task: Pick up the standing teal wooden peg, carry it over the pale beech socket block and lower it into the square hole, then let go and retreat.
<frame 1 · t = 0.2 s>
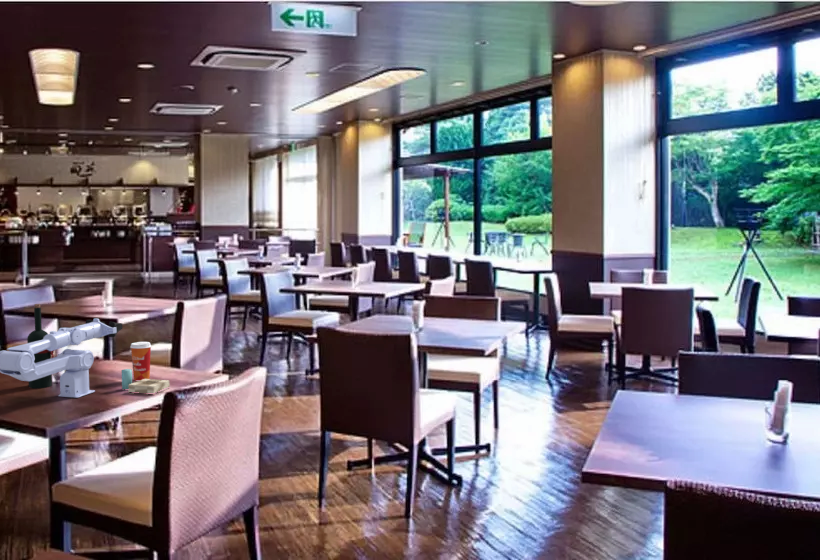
hand: (112, 325, 292), 21 cm above the table, tool horizontal, fingers open, 7 cm apart
socket block: (149, 390, 280), on the table
wine bottle: (43, 386, 287), on the table
peg: (127, 389, 283), on the table
paper cup: (141, 380, 298), on the table
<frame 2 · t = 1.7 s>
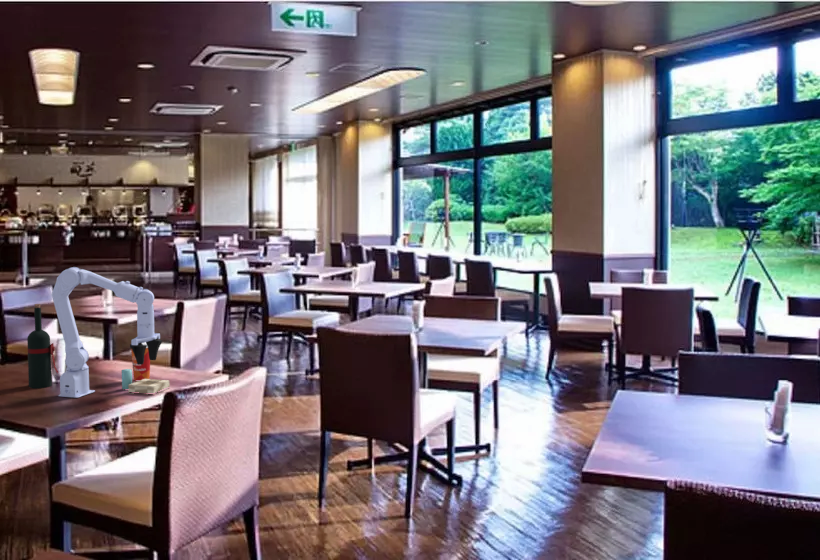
hand: (146, 362, 280), 10 cm above the table, tool pointing down, fingers open, 7 cm apart
nothing on the table moved.
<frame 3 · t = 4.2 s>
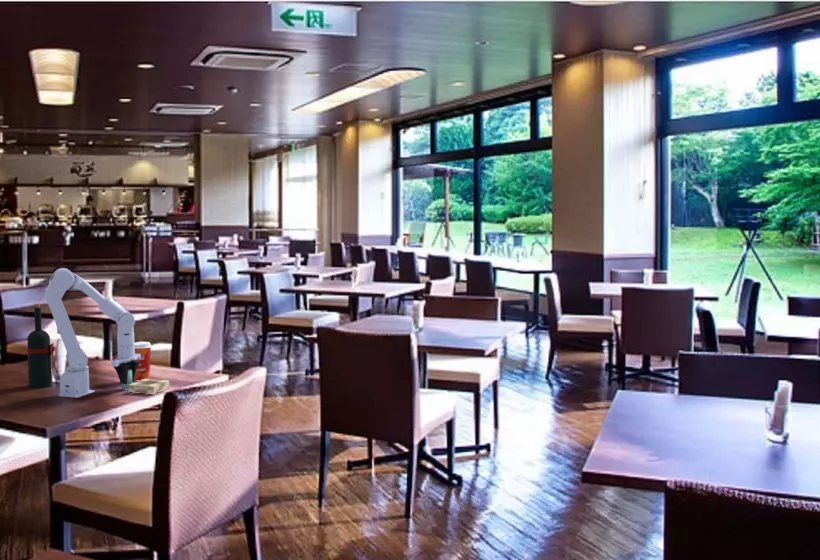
hand: (127, 382, 282), 2 cm above the table, tool pointing down, fingers closed on peg, 3 cm apart
peg: (127, 389, 283), on the table, touching gripper
everything else where it was.
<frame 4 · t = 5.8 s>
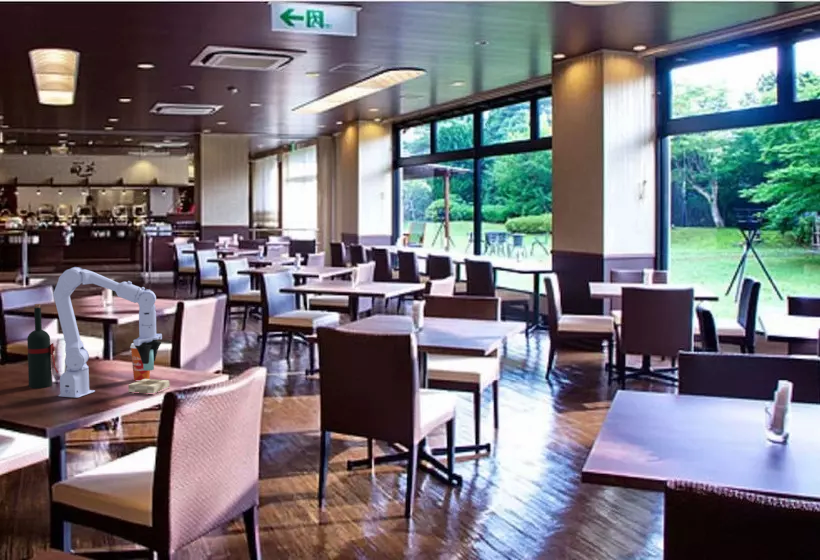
hand: (148, 362, 279), 10 cm above the table, tool pointing down, fingers closed on peg, 3 cm apart
peg: (148, 369, 280), point 8 cm above the table, touching gripper
everything else where it was.
when the fingers open (4 cm above the table, at t = 7.8 s): peg drops 2 cm, resting in socket block.
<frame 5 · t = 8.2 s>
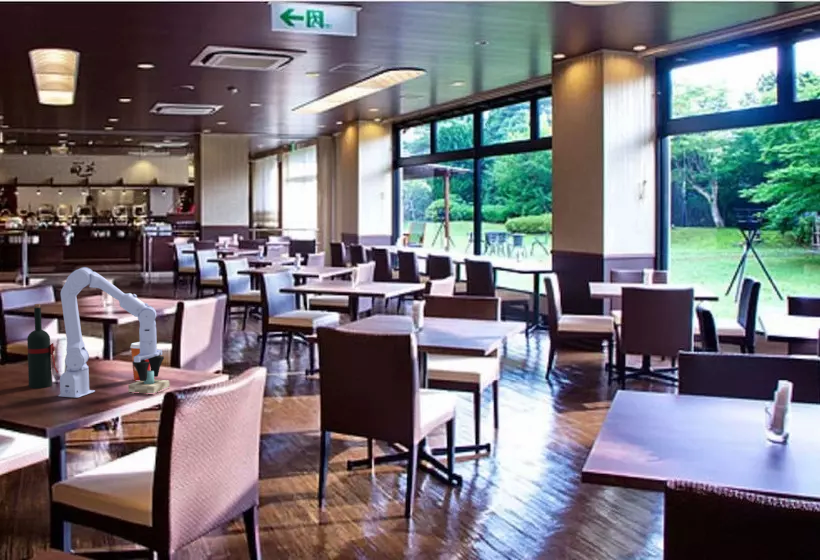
hand: (149, 378, 280), 4 cm above the table, tool pointing down, fingers open, 7 cm apart
peg: (149, 390, 280), resting in socket block
everything else where it was.
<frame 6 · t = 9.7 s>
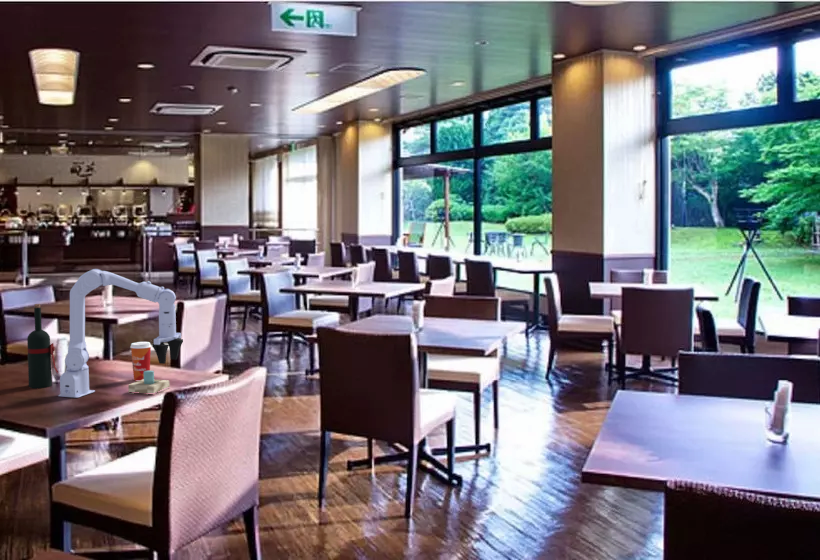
hand: (168, 361, 281), 10 cm above the table, tool pointing down, fingers open, 7 cm apart
nothing on the table moved.
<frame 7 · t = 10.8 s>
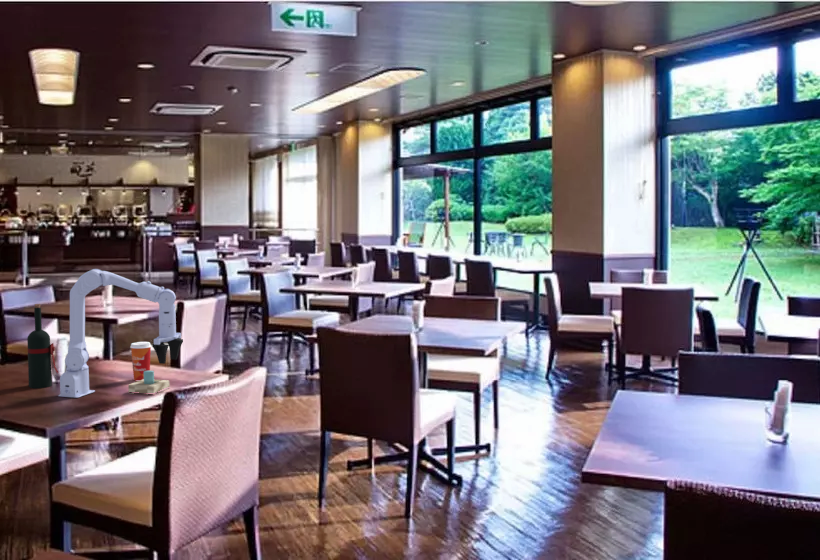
hand: (168, 361, 281), 10 cm above the table, tool pointing down, fingers open, 7 cm apart
nothing on the table moved.
at the end: peg 0.0 cm off-centre on the socket block, point 0.0 cm above the socket block's base; peg tilted 0°; the gripper is holding nothing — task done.
